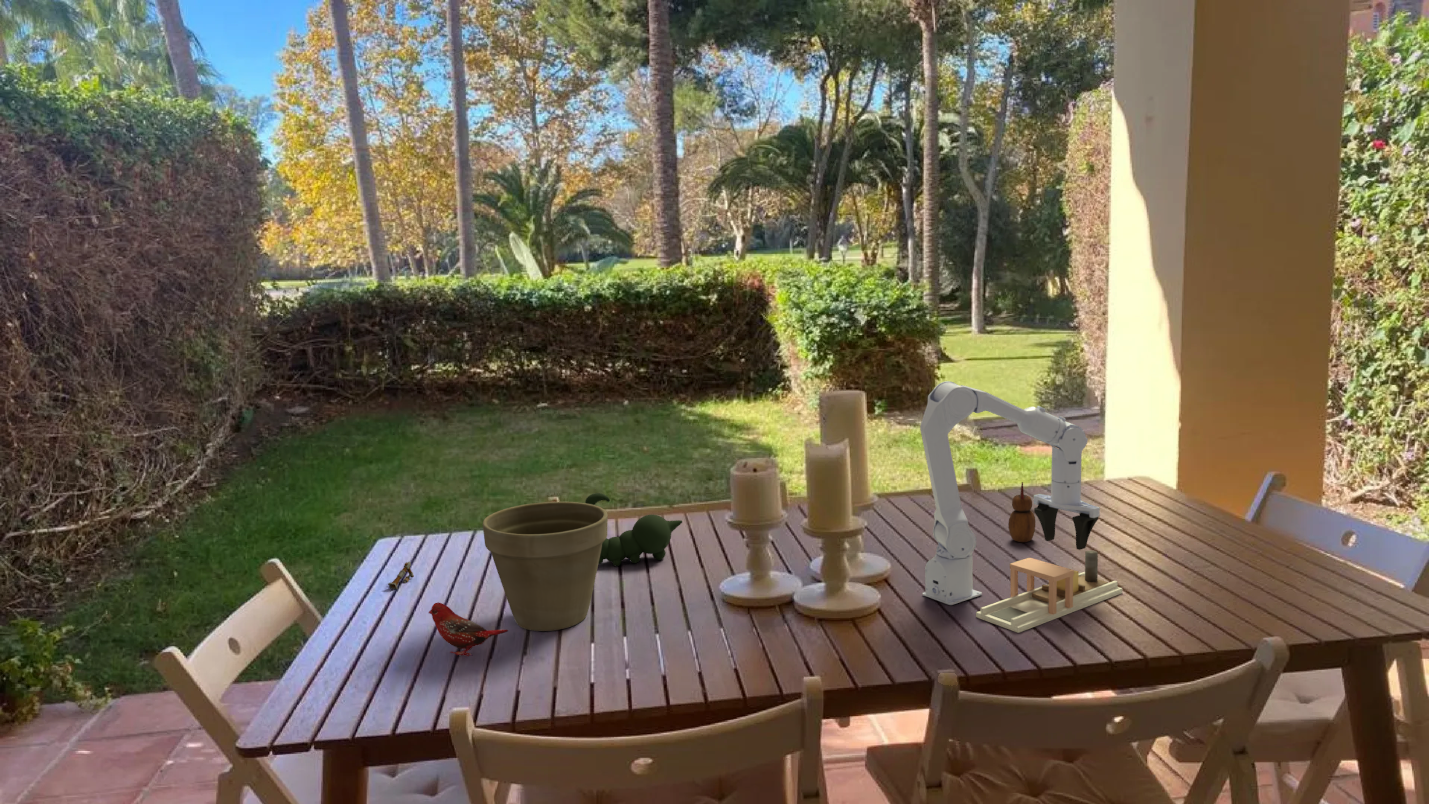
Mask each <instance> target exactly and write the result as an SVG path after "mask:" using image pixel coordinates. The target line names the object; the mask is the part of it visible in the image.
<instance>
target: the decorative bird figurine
mask: <svg viewBox="0 0 1429 804" xmlns="http://www.w3.org/2000/svg"><path fill="white" fill-rule="evenodd" d="M428 614H430V615H431V617H432V621H433V622H434V625H435V627H436V630H437V632H438V634H439V636H441V638H442V639H443V640H444V641H445V642H446V643H448V644H449V645H451V646H453V647H455V648H456V649H457V648H458V649H461V650H462V649H463V650H462V651H449V653H451V654H455V655H456V656H458V655H461V656H466V657H470V656H471V657H473V654H472V653H470V652H469V651H470V650H471V649H472V648H474V647H478V646H481V645H483V644H484V643H485V642H486V641H487V640H488V639H490V638H491V637H494V636H497V635H500V634H505V633H507V632H509V629H491V630H489V629H488V630H487V629H486V628H485V627H483V626H481V625H480V624H479V623H477V622H474V621H472V620H470V619H467V618H466V617H463V616H461V615H458V614H456V613H455V612H454V611H453V610H452V609H451V608H450V607H449V606H447V605H446V604H444V603H442V602H439V601H438V602H435V603H433V605H432V606H431V608H430V610H429V611H428Z"/></svg>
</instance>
